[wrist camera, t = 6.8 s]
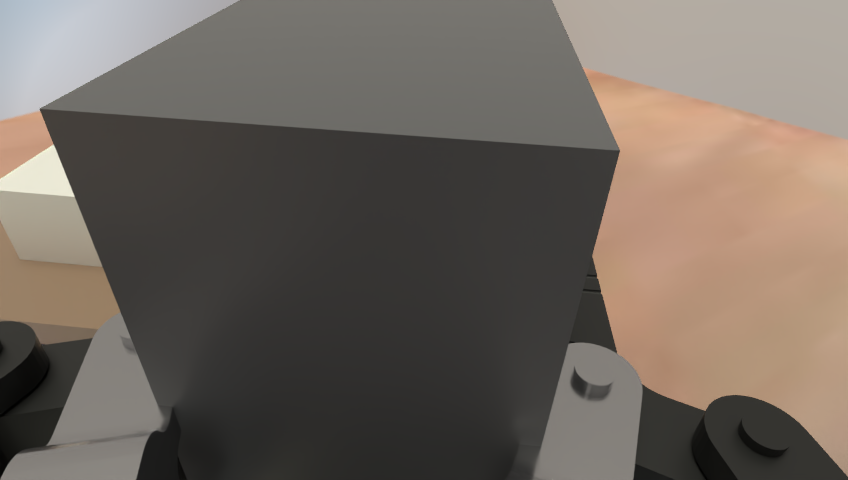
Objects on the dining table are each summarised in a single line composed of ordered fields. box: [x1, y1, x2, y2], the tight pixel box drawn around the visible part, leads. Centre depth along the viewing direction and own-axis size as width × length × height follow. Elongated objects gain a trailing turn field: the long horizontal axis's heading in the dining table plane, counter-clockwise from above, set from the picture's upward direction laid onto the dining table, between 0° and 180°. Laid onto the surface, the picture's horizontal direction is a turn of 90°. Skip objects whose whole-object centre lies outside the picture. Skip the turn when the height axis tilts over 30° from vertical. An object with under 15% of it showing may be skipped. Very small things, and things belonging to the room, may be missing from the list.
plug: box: [40, 0, 620, 480], centre depth 10 cm, size 4×5×12 cm
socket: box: [0, 145, 120, 345], centre depth 24 cm, size 18×18×4 cm
